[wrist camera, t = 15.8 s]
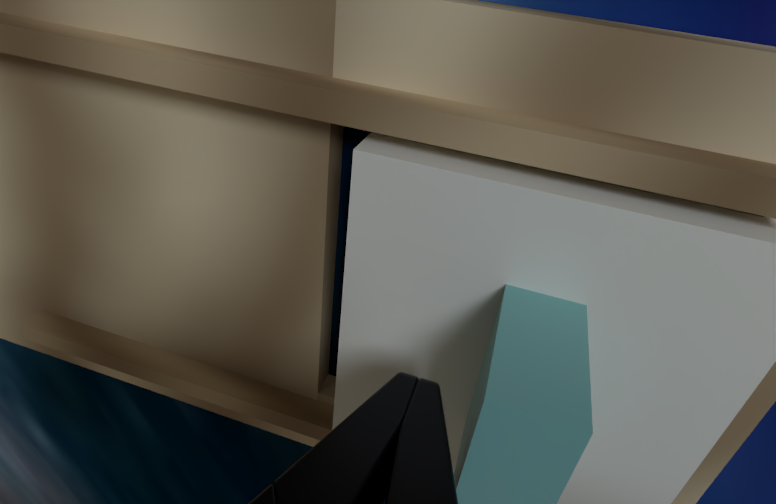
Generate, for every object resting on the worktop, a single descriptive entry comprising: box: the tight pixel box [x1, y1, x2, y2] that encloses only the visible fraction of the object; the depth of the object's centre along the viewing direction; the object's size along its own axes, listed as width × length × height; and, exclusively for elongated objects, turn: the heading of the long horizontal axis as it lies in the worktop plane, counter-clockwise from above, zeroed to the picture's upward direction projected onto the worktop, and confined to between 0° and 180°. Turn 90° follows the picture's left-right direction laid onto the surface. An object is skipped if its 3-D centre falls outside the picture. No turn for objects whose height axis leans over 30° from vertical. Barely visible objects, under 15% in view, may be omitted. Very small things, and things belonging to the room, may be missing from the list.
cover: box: [332, 133, 776, 504], centre depth 10 cm, size 8×8×4 cm
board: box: [0, 0, 776, 504], centre depth 13 cm, size 27×13×2 cm, turn 83°
